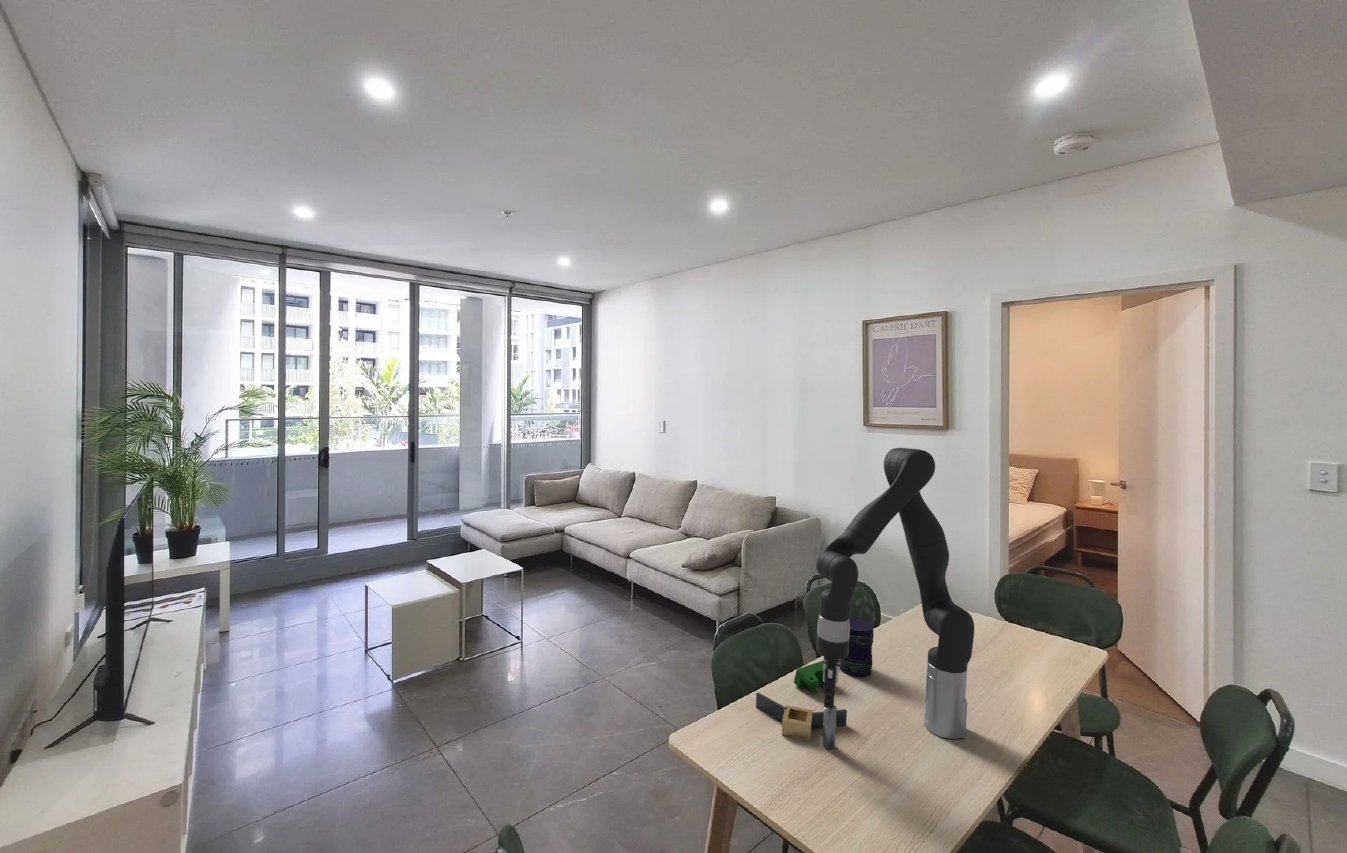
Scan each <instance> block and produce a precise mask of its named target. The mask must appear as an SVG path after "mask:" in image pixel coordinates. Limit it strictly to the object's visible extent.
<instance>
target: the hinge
mask: <svg viewBox="0 0 1347 853" xmlns="http://www.w3.org/2000/svg"><path fill="white" fill-rule="evenodd" d="M755 708H756V709H758V710H760V711H761V712H763V713H765V714H767V715H768V716H771V717H772V718H774V719H775V720H777V721H778V722H781V723H782V724H781V736H784V737H789V738H794V739H799V740H804V741H807V742H810V741H811V738H812V731H813V730H818V729H823V719H824V710H823V711H814V710H812V709H807V708H802V707H797V706H791V705H787V704H786V705H782V704H780V703H779V702H777V701H775V700H773V699H771V698H769V697H768V696H766V695H764V694H762V693H760V692H756V693H755ZM847 711H848V710H847V709H846V708H845V709H837V714H836V728H837V727H838V728H839V727H847V716H848V715H847V714H848V712H847Z"/></svg>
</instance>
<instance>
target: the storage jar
mask: <svg viewBox="0 0 1347 853" xmlns="http://www.w3.org/2000/svg"><path fill="white" fill-rule="evenodd" d="M849 624H850V634H849V652H848V656H847V657H846V658H844V659H840V672H841V673H843V674H845V675H846V674H847V676H850V677H853V678H859V679H862V678H868V677H870V676H871V675H872V672H873V670H872V669H873V653H872V652H873V644H874V636H875V635H874V628H875V626H874V624H873V623H872V622H871V621H869V620H867V619H864V618H862V617H861V618H860V617H853V616H849Z"/></svg>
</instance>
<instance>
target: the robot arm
mask: <svg viewBox="0 0 1347 853" xmlns="http://www.w3.org/2000/svg"><path fill="white" fill-rule="evenodd" d="M883 469H884V475H885V477H886V481H887V483H888V486H889V487H888V488H887V489H886V490H884V491H883V493H881V494H880V495H878V497H876V498H875V499H873V500H872V501H871V502H869V503H867V505H865V506H864V507H863V508H862V509H861V510H859V511H858V512H857V514H856V515H855V516H854V517H853V519H852V520H851V521H850V523H849V524H848V526H847V527H846V529H845V530H844V531H843V532H842V533H841V534H840V535H839V536H838V537H836V538H834V540H832V541H831V542H830V543H829V544H828V545H827V546H825V547H824V548H823V549H822V550H821V551H820V553H819V554H818V556H817V560H816V563H815V564H816V565H815V566H816V572H818V574H819V575H820V576H821V577H823V578H825V579H827V580H828V581H830V582H831V586H830V588H827V589H824V590H823V591H822V592H821V594H820V598H819V612H818V614H819V615H818V620H817V628H816V629H817V632H816V648H815V649H816V652H817V653H818V655H819V656H822V657H823V660H822V661H823V669H824V670H823V682H824V686H823V691H822V692H823V694H824V695H823V696H824V698H823V708H824V707H825V708H828V709H833V708H834V706H835V704H834V703H835V695H836V693H837V692H836V685H838V683H839V682H838V681H839V672H841V670H840V659H844V658H846V657H847V656H848V652H849V634H850V624H849V617H850V611H851V601H852V598H853V595H854V592H855V590H856V587H857V584H858V580H859V569H858V566H857V563H856V561H854V559H853V558H851V557H852V556H854V555H864V554H866V553H867V552H868V551H869V550H871V547H872V546H873V545H874V543H876V541H877V539H878V538H879V536H880V535H881V534H882V533H883V531H884V530H885V529H886V527H887V526H888V524H889V523H890V522H892V520H893V519H894V517H895V516H897V515H899V518H900V522H901V525H902V529H903V531H904V532H903V533H904V538H905V541H906V545H907V549H908V552H909V556H910V558H911V563H912V566H913V569H914V574H915V577H916V581H917V584H918V588H919V595H920V596H919V597H920V601H921V610H922V616H923V620H924V622H925V624H926V626H927V627H928V629H929V630H930V631H932V633H934V634H935V635H937V636H938V639H937V640H938V642H937V646H933V647H931V648H929V650H928V651H927V662H926V664H927V665H926V666H927V667H926V680H925V684H926V685H925V700H924V702H925V704H924V714H923V715H924V722H923V725H924V727H925V728H926V729H927V730H928V731H929V732H931V733H932V734H934V735H935V736H937V737H940V738H944V739H948V740H949V739H950V740H956V739H966V731H967V715H968V714H967V712H968V701H967V698H966V697H967V696H966V695H967V694H966V692H967V676H968V664H969V663H970V661H971V658H972V656H973V648H974V647H973V646H974V639H975V638H974V637H975V622H974V619H973V617H972V614H970V613H969V612H968V611H967V610H965V609H964V608H962V607H961V606H959V605H957V604H956V603H955V602H954V601H953V600H952V597H951V594H950V592H949V589H948V588H949V587H948V584H947V582H946V574H947V570H948V566H949V563H950V562H949V561H950V552H949V551H950V550H949V547H948V543H947V540H946V535H945V532H944V529H943V527H942V525H941V523H940V521H939V520H938V519H937V517H936V516H935V514H934V513H933V511H932V510H931V509H930V508H929V506H928V505H927V503H926V502H925V500H924V498H923V497H922V494H921V490H922V489H924V488H925V486H927V485H928V483H929V482H930V480H931V479H932V478H933V476H934V475H935V470H936V462H935V458H934V457H933V455H932V454H931V453H930V452H929V451H926V450H922V449H921V448H920V449H919V448H910V447H895V448H894V447H893V448H892V449H890V450H889V451H888V452H886V454H885V456H884V460H883Z"/></svg>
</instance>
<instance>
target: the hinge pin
mask: <svg viewBox="0 0 1347 853" xmlns="http://www.w3.org/2000/svg"><path fill="white" fill-rule="evenodd" d="M837 710H838V707H837V706H836V705H834V708H833V709H828V708H825V707H824V706H823V711H824V719H823V728H822V745H821V746H822V748H823V749H825V750H827V751H834V750H835V749H836V740H837V739H836V738H837V736H836V735H837V732H836V731H837V727H836V714H837Z"/></svg>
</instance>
